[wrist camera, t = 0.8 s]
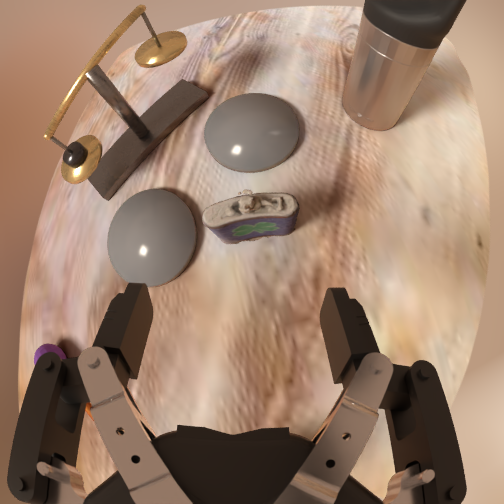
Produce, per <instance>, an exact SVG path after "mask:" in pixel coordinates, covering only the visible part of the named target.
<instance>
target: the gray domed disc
mask: <svg viewBox="0 0 504 504" xmlns="http://www.w3.org/2000/svg"><path fill="white" fill-rule="evenodd" d="M298 136H299V123H298V119H297V117H296V114H295V113H294V111H293V110H292V109H291V108H290V106H288V105H287V104H286V103H285V102H283V101H282V100H280V99H278V98H276V97H274V96H271V95H267V94H261V93H249V94H242V95H238V96H235V97H233V98H230V99H228V100H226V101H225V102H223V103H222V104H220V105H219V106H218V107H217V108H216V109H215V110H214V111H213V112H212V113H211V115H210V116H209V118H208V120H207V122H206V125H205V130H204V138H205V143H206V145H207V148H208V150H209V152H210V153H211V155H212V156H213V158H214V159H215V160H216V161H217V162H218V163H220V164H221V165H223V166H224V167H226V168H228V169H231V170H234V171H238V172H244V173H255V172H262V171H265V170H269V169H271V168H274V167H276V166H278V165H279V164H281V163H282V162H284V161H285V160H286V159H287V158H288V157H289V156H290V155H291V154H292V152H293V151H294V149H295V147H296V145H297V142H298Z"/></svg>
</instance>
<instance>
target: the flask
mask: <svg viewBox="0 0 504 504" xmlns="http://www.w3.org/2000/svg"><path fill="white" fill-rule="evenodd" d="M243 193H244V194H248V195H242V196H237V197H234V198H231V199H227V200H225V201H221V202H218V203H215V204H213V205H211V206H209V207H207V208H206V209H205V210H204V212H203V215H202V221H203V224H204V225H205V226H206V227H208V228H209V229H210V230H211V231H212V232H213V233H214V234H216V235H217V236H218V237H219V238H220V240H221V241H222V242H224V243H226V244H238V243H239V242H241V241H245V240H246V241H248V240H249V241H255V240H258V239H260V238H262V237H267V238H269V237H270V236H277V237H278V236H285V235H289V234H290V233H291V232H292V231H293V230H294V227H295V224H296V220H297V215H298V211H299V204H298V202H297V200H296V198H295V197H294V196H293V195H291V194H288V193H255V194H252V191H251V190H246V189H245V190H244V191H243ZM240 194H241V192H239V193H238V195H240Z"/></svg>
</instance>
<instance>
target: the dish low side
mask: <svg viewBox="0 0 504 504" xmlns="http://www.w3.org/2000/svg"><path fill="white" fill-rule="evenodd" d="M196 240H197V229H196V223H195V219H194V217H193V214H192V212H191V210H190V209H189V207H188V206H187V205H186V204H185V203H184V202H183V201H182V200H181V199H180V198H179V197H178V196H176V195H175V194H173V193H171V192H169V191H166V190H162V189H149V190H145V191H142V192H139V193H137V194H135V195H133V196H132V197H130V198H129V199H128V200H127V201H125V202H124V203H123V205H122V206H121V207H120V208H119V209H118V211H117V212H116V214H115V216H114V217H113V220H112V222H111V225H110V228H109V232H108V240H107V247H108V254H109V258H110V261H111V263H112V265H113V267H114V269H115V270H116V272H117V273H118V274H119V275H120V276H121V277H122V278H123V279H124V280H125V281H127V282H129V283H130V282H131V283H145V284H146V285H147V287H158V286H162V285H164V284H167V283H169V282H171V281H172V280H174V279H175V278H176V277H178V276H179V275H180V274H181V273H182V272H183V271H184V269H185V268H186V267H187V265H188V264H189V262H190V260H191V258H192V256H193V253H194V250H195V246H196Z"/></svg>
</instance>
